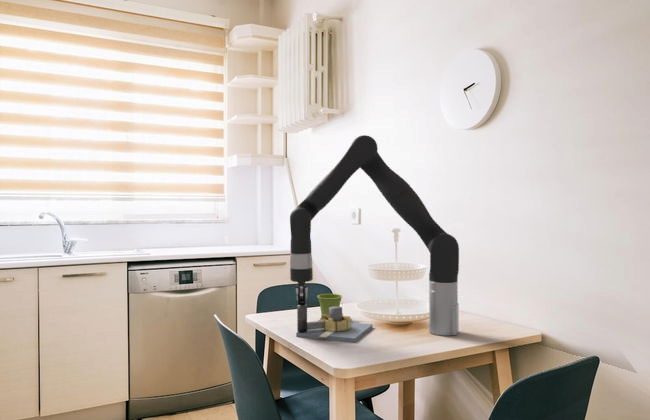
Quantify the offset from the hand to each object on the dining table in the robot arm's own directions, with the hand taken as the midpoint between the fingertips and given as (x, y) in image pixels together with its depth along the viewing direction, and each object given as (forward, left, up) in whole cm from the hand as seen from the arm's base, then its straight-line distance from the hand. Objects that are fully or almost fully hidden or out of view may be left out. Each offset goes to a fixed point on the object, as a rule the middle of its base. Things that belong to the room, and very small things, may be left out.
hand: (302, 317), depth 165 cm
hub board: (-11, -4, -5) cm, 12 cm away
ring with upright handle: (-8, -1, -3) cm, 8 cm away
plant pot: (-2, -22, -5) cm, 22 cm away
